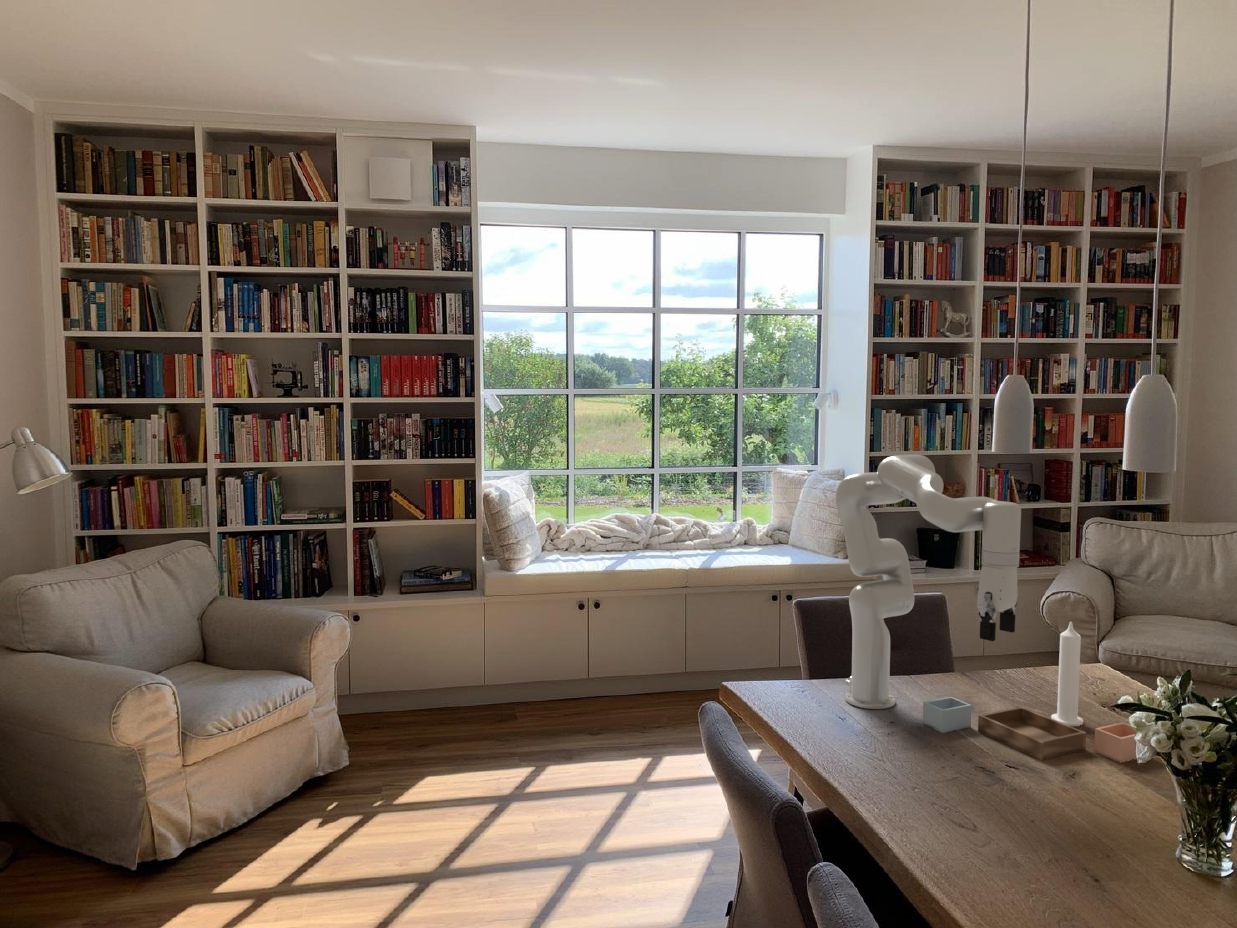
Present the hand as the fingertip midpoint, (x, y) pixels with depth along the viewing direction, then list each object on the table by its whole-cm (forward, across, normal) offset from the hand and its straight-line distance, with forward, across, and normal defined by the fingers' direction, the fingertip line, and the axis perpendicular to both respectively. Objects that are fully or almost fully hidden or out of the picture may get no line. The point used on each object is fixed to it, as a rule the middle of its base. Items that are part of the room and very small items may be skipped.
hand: (997, 635), depth 196 cm
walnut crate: (+28, -16, +2) cm, 32 cm away
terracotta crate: (+28, -23, +19) cm, 41 cm away
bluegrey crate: (+28, -11, -16) cm, 34 cm away
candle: (+28, -35, +3) cm, 45 cm away
